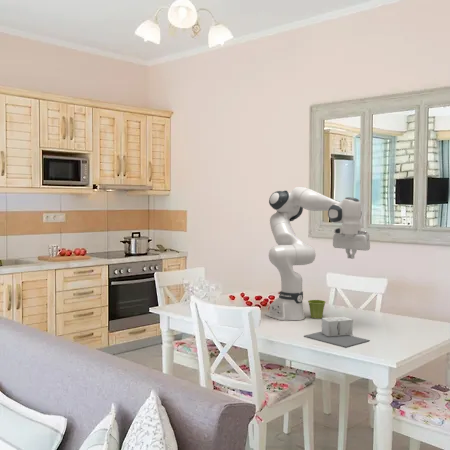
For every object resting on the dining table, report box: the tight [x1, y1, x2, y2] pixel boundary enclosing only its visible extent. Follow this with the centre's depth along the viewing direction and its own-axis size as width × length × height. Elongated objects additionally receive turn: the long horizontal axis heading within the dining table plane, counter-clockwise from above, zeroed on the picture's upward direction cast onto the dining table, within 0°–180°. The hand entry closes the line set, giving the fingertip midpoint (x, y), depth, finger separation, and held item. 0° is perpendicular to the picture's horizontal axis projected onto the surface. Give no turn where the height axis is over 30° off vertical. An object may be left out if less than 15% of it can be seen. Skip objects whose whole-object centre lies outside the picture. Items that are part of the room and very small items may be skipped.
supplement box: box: [321, 316, 354, 337], centre depth 256 cm, size 7×7×13 cm
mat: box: [303, 330, 371, 349], centre depth 250 cm, size 24×17×1 cm
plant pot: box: [307, 299, 327, 319], centre depth 294 cm, size 9×9×9 cm
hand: (350, 258), depth 272 cm, fingers closed
